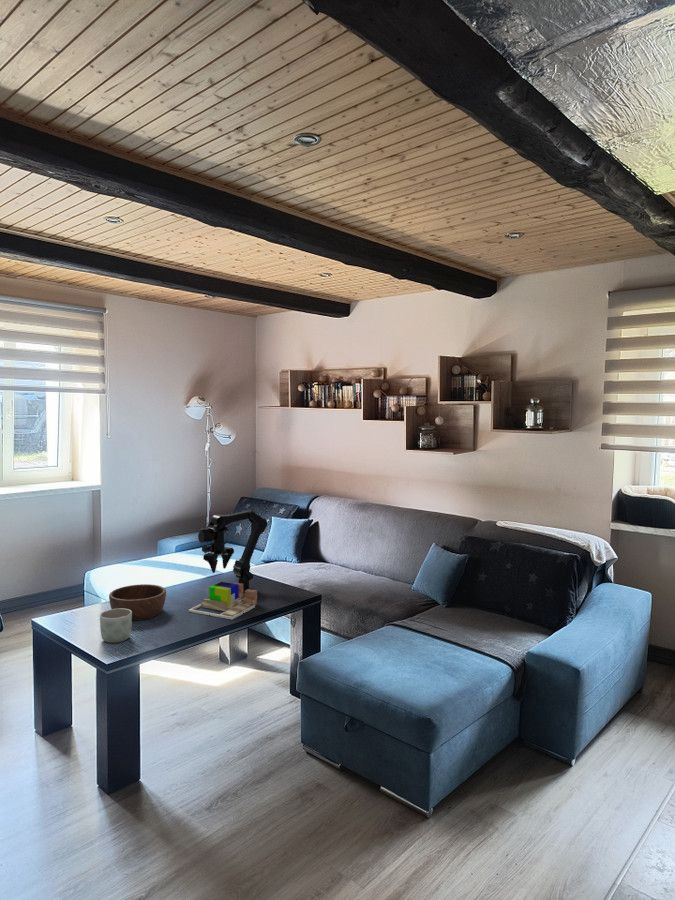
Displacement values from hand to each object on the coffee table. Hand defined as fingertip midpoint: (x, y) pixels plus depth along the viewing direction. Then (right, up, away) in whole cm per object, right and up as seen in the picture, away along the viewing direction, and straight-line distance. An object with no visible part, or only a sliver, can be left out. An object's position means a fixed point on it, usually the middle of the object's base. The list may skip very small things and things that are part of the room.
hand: (219, 570), depth 306 cm
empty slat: (+14, -15, -21) cm, 29 cm away
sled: (+6, -14, -10) cm, 18 cm away
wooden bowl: (-32, -15, -26) cm, 44 cm away
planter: (-31, -17, -58) cm, 67 cm away
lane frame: (+5, -14, -20) cm, 25 cm away
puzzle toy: (+5, -14, -15) cm, 21 cm away
